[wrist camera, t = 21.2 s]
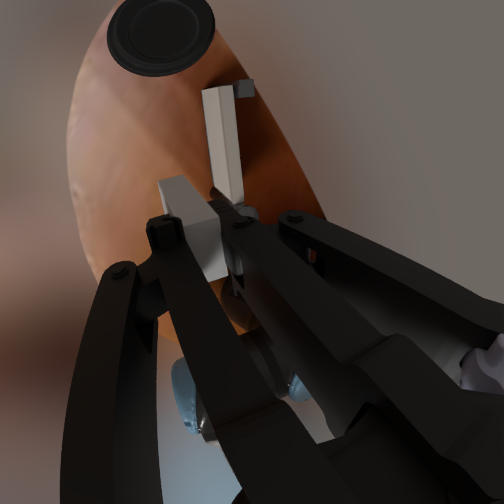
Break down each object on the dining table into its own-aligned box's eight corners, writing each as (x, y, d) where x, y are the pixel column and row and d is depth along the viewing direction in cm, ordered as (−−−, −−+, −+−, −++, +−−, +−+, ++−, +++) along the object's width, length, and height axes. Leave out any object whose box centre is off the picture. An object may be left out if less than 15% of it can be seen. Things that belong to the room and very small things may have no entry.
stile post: (223, 97, 34) (254, 96, 26) (212, 99, 33) (240, 97, 25) (222, 84, 32) (253, 79, 25) (211, 85, 32) (239, 79, 24)
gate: (222, 184, 39) (244, 201, 33) (213, 186, 39) (233, 204, 33) (211, 88, 31) (232, 85, 25) (200, 90, 31) (220, 86, 25)
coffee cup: (169, 15, 24) (199, -33, 12) (194, 70, 30) (237, 49, 18) (102, 44, 23) (90, 6, 11) (129, 101, 28) (130, 94, 17)
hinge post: (228, 199, 42) (259, 227, 34) (208, 205, 41) (235, 235, 33) (226, 180, 40) (257, 203, 32) (205, 185, 39) (232, 210, 31)
